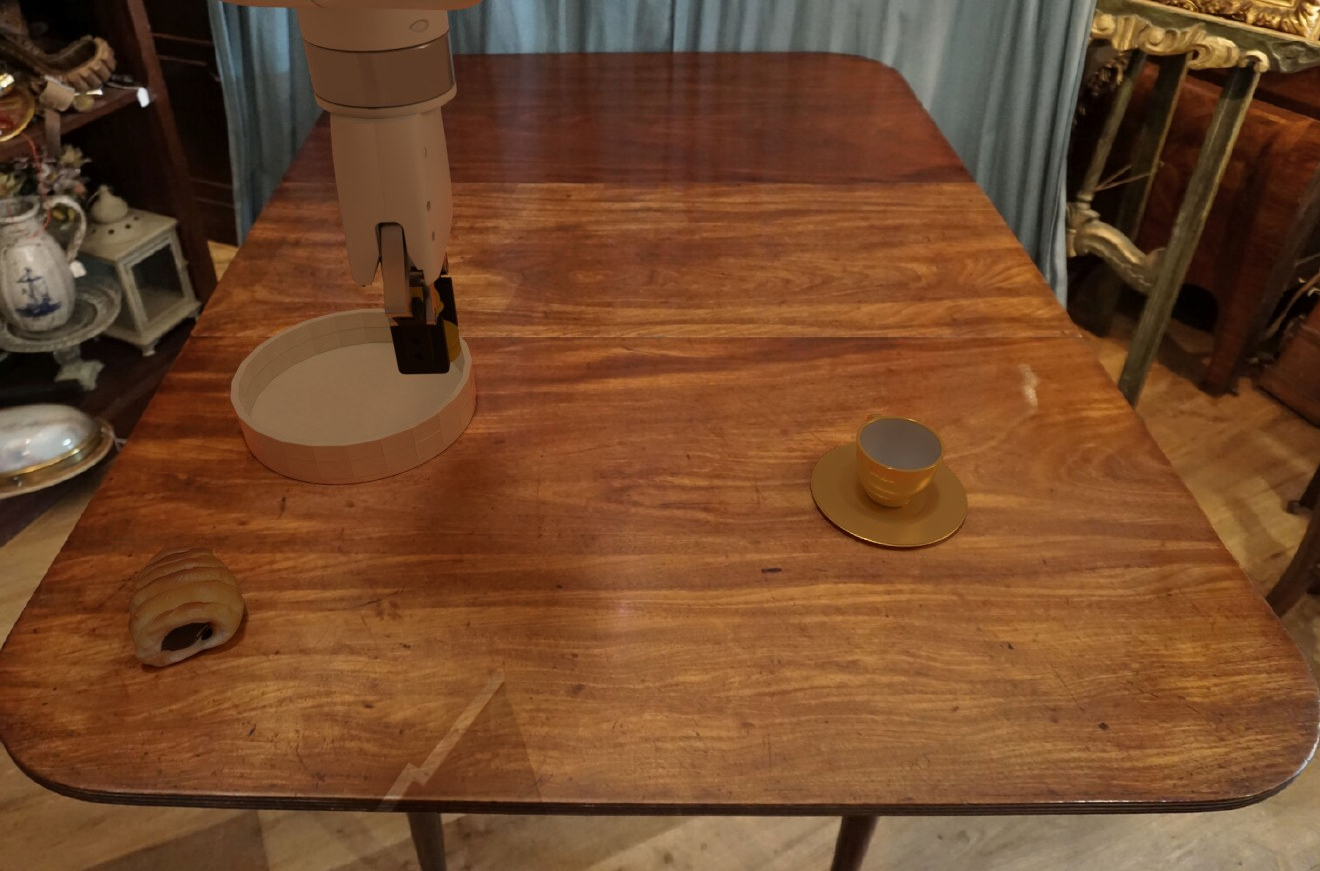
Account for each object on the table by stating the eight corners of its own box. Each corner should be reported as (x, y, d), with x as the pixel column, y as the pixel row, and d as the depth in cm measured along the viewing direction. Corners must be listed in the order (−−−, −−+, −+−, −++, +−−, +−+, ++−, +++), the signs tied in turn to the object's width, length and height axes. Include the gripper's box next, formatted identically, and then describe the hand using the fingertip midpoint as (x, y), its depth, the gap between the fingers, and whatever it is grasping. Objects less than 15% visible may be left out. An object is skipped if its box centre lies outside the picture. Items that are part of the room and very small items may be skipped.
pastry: (130, 578, 65) (111, 540, 63) (233, 547, 68) (218, 509, 65) (142, 679, 59) (122, 641, 56) (255, 640, 61) (239, 602, 59)
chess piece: (396, 341, 62) (383, 275, 59) (454, 330, 64) (445, 265, 60) (406, 373, 60) (393, 306, 56) (467, 361, 61) (458, 294, 58)
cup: (994, 538, 69) (1013, 484, 66) (842, 561, 67) (853, 507, 64) (926, 436, 78) (939, 384, 75) (790, 454, 76) (797, 401, 73)
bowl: (375, 515, 70) (366, 476, 68) (192, 437, 77) (177, 398, 74) (519, 381, 83) (515, 344, 81) (352, 324, 90) (344, 288, 87)
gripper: (342, 21, 56) (392, 287, 68) (270, 125, 43) (347, 432, 55) (468, 21, 57) (496, 285, 68) (433, 124, 44) (476, 428, 55)
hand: (429, 348), depth 61 cm, fingers closed on chess piece, 4 cm apart
